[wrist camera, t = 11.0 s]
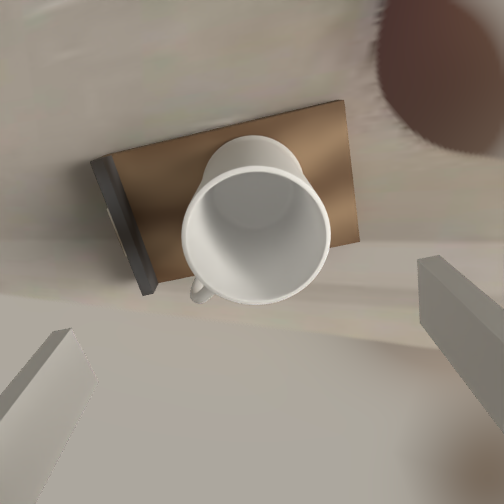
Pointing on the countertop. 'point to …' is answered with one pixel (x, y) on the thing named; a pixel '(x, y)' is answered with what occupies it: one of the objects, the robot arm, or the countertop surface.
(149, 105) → the countertop surface
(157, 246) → the flat wooden box
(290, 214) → the mug
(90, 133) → the countertop surface
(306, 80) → the countertop surface
